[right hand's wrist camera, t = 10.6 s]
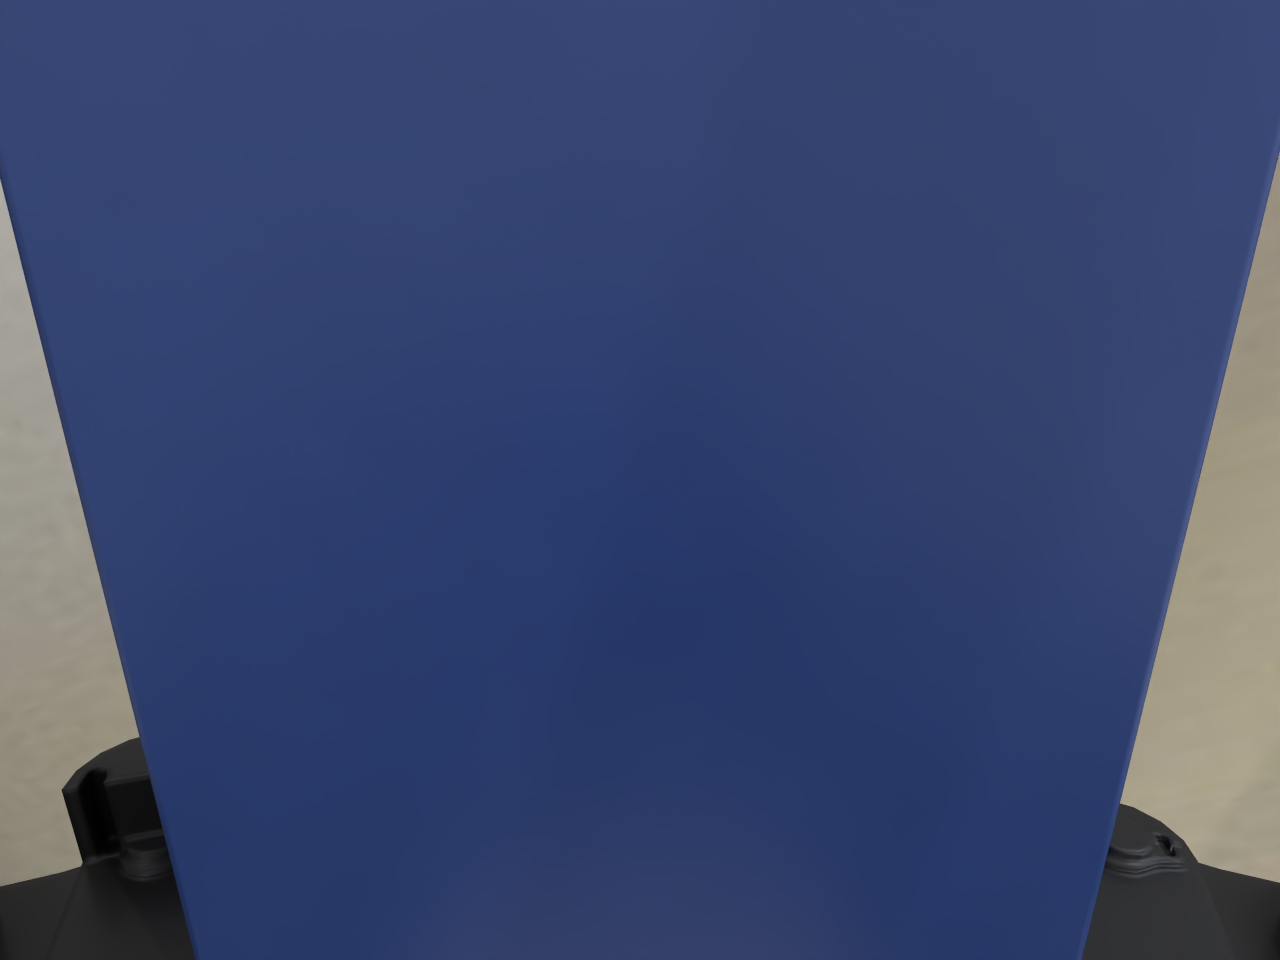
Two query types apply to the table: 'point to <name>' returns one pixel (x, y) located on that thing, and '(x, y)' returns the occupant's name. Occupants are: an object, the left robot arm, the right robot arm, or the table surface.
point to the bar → (637, 448)
